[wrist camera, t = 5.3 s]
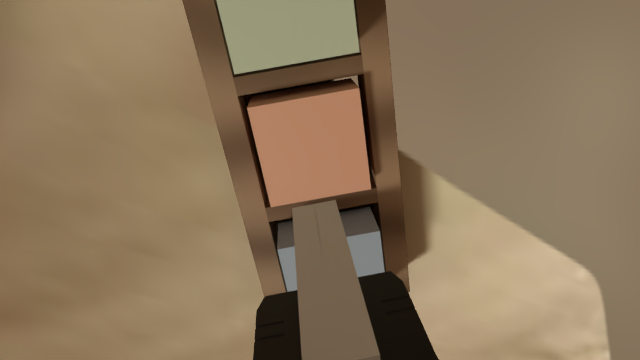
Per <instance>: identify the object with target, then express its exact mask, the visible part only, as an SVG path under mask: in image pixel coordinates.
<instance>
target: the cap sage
mask: <svg viewBox="0 0 640 360" xmlns="http://www.w3.org/2000/svg"><path fill="white" fill-rule="evenodd" d="M216 1H217V5H218V9H219V13H220V17H221V21H222V26H223V30H224V34H225V38H226V42H227V46H228V50H229V54H230V58H231V62H232V66H233V71H234V74H240V73H245V72H251V71H256V70H262V69H268V68H273V67H279V66H285V65H290V64H296V63H301V62H307V61H313V60H318V59H324V58H330V57H335V56H341V55H347V54H352V53H358V52H359V44H358V35H357V26H356V18H355V9H354V0H216Z"/></svg>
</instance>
